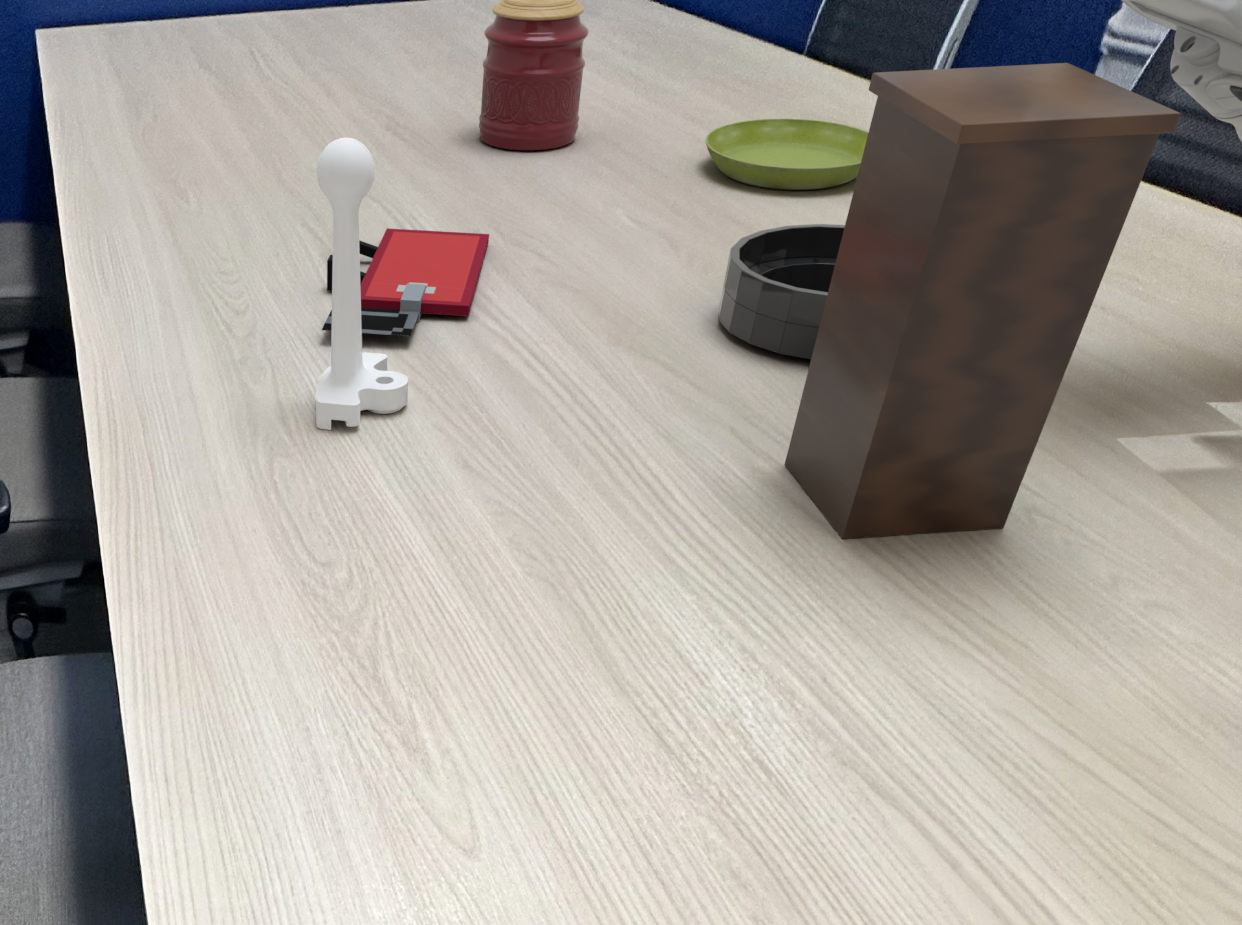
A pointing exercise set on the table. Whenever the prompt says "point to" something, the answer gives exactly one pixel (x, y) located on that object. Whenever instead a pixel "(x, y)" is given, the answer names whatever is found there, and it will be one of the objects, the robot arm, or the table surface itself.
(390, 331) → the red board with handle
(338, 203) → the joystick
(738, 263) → the bowl
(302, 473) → the table surface
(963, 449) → the stand
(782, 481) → the table surface
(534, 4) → the kitchen canister
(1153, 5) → the robot arm
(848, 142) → the saucer
